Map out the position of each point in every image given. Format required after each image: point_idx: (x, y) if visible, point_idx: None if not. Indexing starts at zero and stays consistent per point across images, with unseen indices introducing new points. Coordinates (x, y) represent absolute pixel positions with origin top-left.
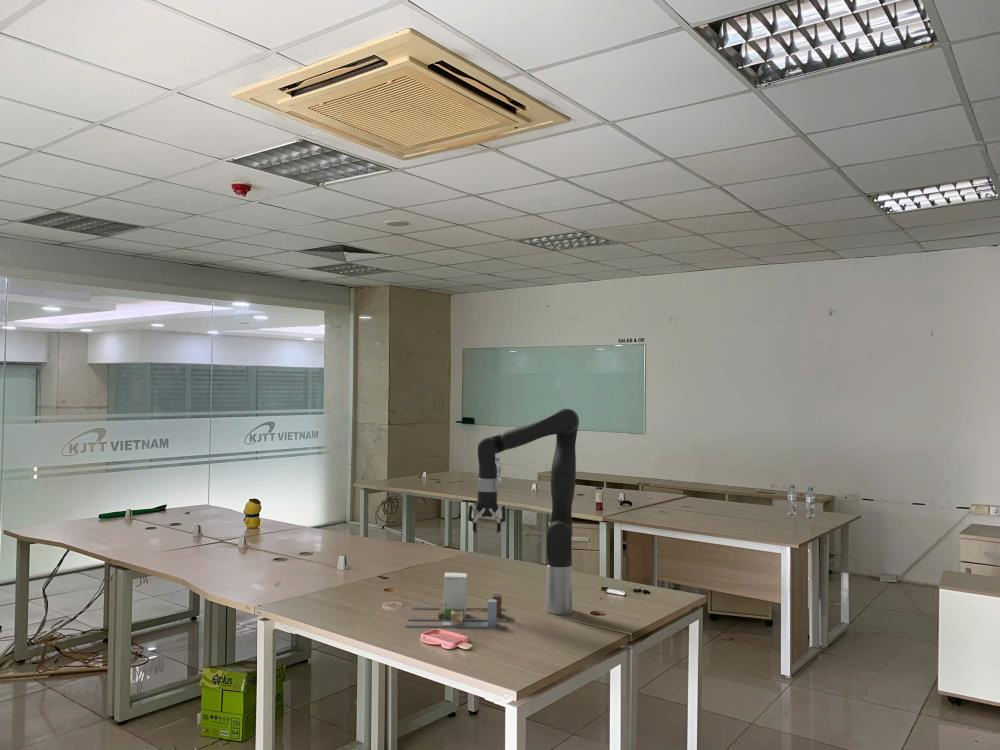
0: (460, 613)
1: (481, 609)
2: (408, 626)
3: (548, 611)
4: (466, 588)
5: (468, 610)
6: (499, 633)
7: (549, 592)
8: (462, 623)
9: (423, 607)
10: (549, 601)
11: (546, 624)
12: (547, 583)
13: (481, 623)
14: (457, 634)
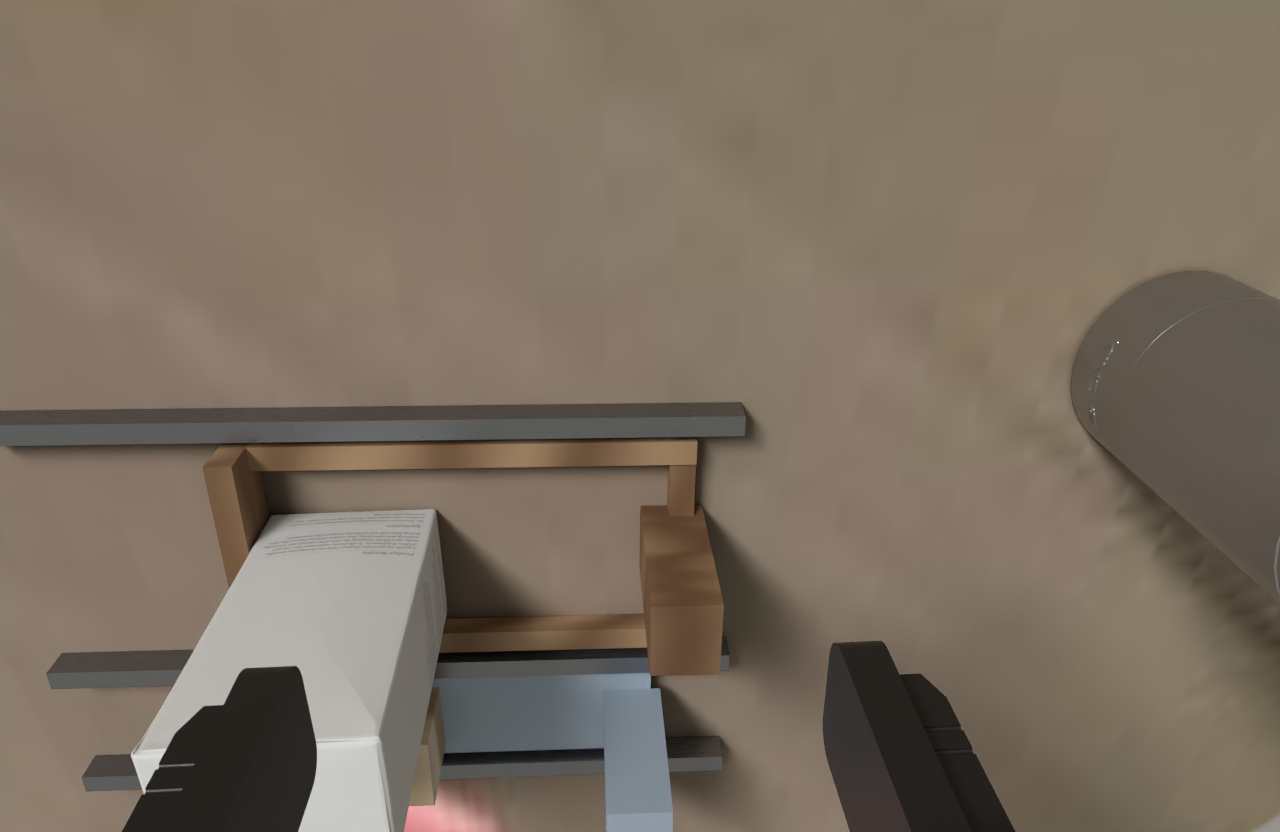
0: (417, 799)
1: (552, 435)
2: (105, 787)
3: (1078, 412)
4: (413, 762)
5: (449, 467)
6: (673, 779)
7: (1166, 495)
8: (443, 755)
9: (59, 434)
10: (1124, 459)
11: (986, 631)
12: (1204, 503)
13: (564, 701)
14: (430, 806)
